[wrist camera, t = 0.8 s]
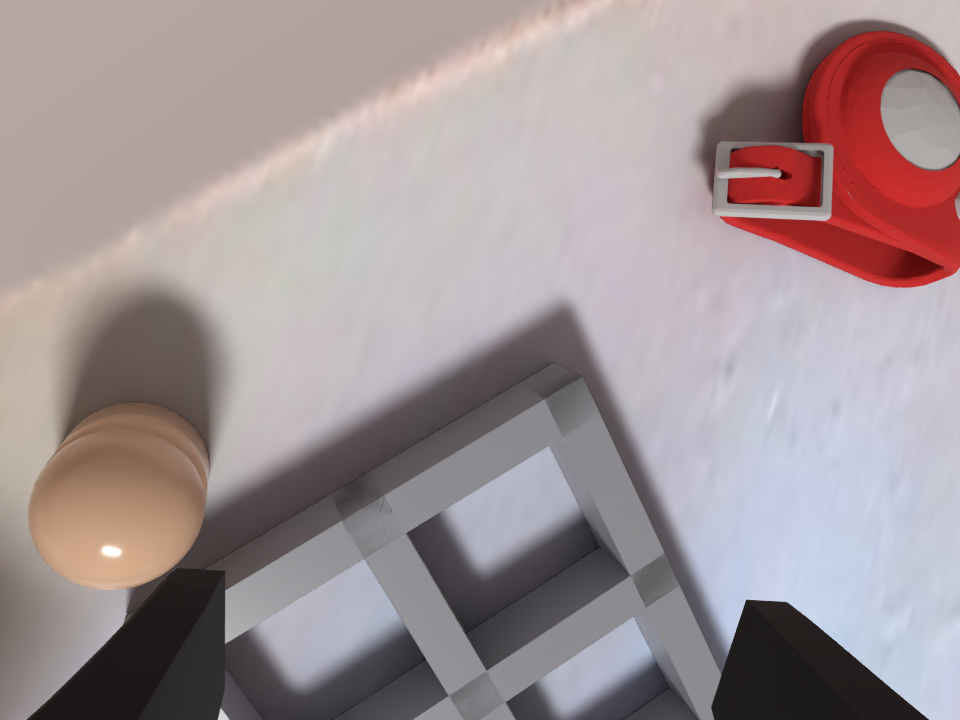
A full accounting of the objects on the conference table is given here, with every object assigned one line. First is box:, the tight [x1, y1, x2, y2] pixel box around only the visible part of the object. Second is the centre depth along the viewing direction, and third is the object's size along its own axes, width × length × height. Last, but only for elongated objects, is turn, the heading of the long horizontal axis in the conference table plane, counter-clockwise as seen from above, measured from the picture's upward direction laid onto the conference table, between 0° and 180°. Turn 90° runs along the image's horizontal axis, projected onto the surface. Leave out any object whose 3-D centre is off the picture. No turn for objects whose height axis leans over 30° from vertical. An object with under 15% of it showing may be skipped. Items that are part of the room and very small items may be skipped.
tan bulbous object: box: [28, 402, 209, 590], centre depth 22 cm, size 4×4×5 cm
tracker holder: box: [712, 31, 960, 288], centre depth 29 cm, size 12×4×10 cm
